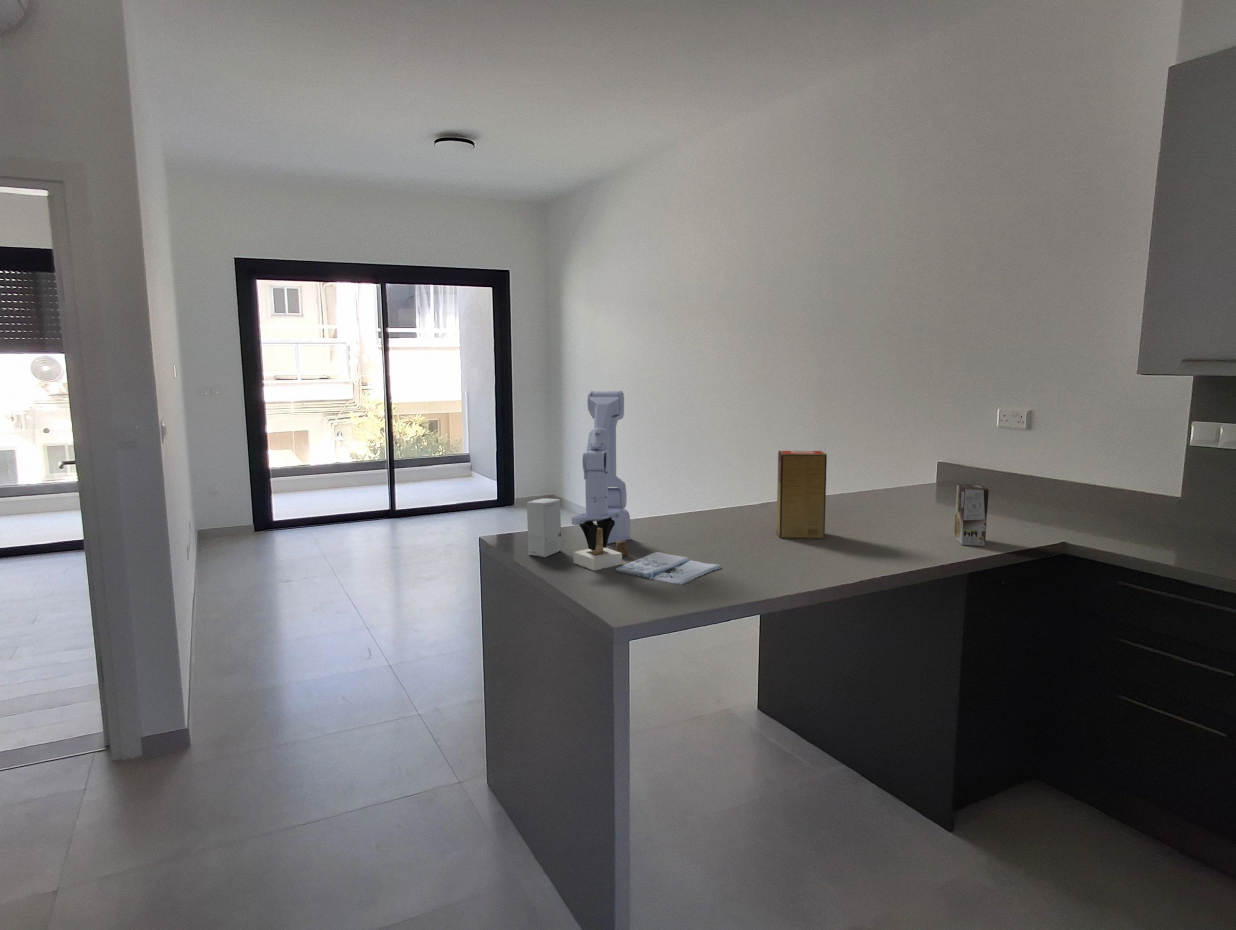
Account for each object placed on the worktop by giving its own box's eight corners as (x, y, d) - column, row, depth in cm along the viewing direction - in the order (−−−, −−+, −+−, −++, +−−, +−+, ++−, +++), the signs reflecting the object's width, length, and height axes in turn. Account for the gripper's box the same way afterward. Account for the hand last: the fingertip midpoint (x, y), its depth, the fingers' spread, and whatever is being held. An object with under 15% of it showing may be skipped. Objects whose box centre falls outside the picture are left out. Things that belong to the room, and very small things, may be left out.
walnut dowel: (622, 553, 202) (622, 539, 201) (629, 556, 200) (629, 541, 199) (613, 555, 200) (613, 541, 200) (620, 558, 198) (620, 543, 197)
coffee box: (986, 546, 205) (989, 489, 203) (961, 545, 207) (964, 488, 204) (977, 538, 214) (980, 483, 212) (953, 537, 215) (956, 483, 213)
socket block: (601, 557, 199) (601, 546, 198) (622, 564, 192) (621, 553, 191) (573, 563, 193) (573, 551, 193) (593, 570, 186) (593, 559, 186)
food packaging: (820, 531, 224) (822, 450, 221) (825, 539, 215) (828, 454, 212) (775, 531, 226) (777, 449, 222) (779, 538, 217) (780, 454, 213)
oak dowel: (599, 553, 194) (598, 527, 193) (605, 555, 192) (605, 529, 191) (589, 555, 193) (589, 528, 192) (595, 557, 190) (595, 531, 189)
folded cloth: (658, 557, 200) (658, 549, 200) (723, 570, 187) (723, 562, 187) (613, 573, 185) (613, 565, 185) (680, 589, 173) (680, 580, 172)
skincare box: (545, 558, 199) (543, 503, 196) (527, 555, 202) (525, 501, 199) (562, 550, 206) (561, 498, 204) (544, 548, 209) (543, 496, 207)
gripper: (582, 502, 182) (583, 556, 184) (628, 495, 191) (628, 546, 193) (566, 498, 188) (567, 550, 190) (611, 491, 197) (612, 541, 199)
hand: (597, 548), depth 192 cm, fingers closed on oak dowel, 3 cm apart
